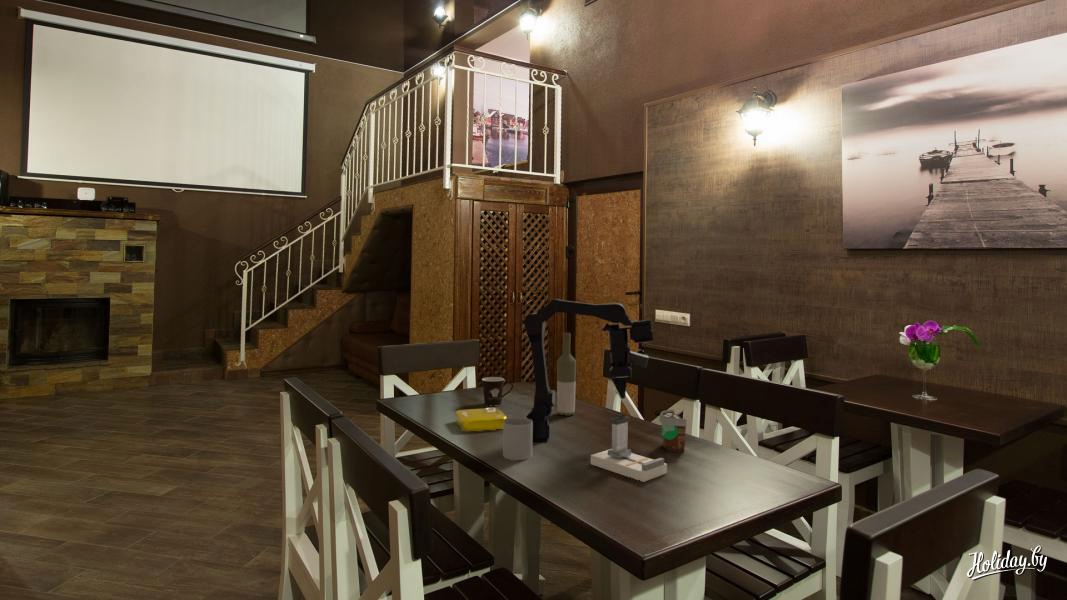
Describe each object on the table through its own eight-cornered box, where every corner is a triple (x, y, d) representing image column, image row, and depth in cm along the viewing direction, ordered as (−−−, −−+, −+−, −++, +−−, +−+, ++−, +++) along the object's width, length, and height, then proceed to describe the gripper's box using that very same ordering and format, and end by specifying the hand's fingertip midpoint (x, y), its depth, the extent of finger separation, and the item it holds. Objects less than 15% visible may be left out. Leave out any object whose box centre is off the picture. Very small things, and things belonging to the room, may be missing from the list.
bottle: (563, 411, 223) (564, 331, 222) (579, 413, 219) (580, 332, 218) (552, 414, 218) (553, 333, 216) (568, 417, 214) (569, 334, 212)
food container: (653, 441, 186) (654, 409, 185) (672, 440, 186) (673, 409, 186) (665, 453, 174) (666, 419, 173) (685, 453, 174) (686, 419, 174)
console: (590, 464, 164) (590, 449, 163) (614, 456, 170) (614, 442, 170) (643, 481, 150) (643, 466, 150) (666, 473, 157) (667, 458, 157)
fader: (607, 455, 162) (607, 418, 161) (620, 451, 166) (621, 414, 165) (618, 459, 159) (619, 421, 158) (631, 454, 163) (632, 417, 162)
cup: (510, 462, 165) (510, 426, 164) (498, 453, 172) (498, 419, 171) (537, 457, 169) (537, 423, 168) (524, 449, 176) (524, 416, 175)
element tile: (455, 422, 208) (455, 408, 208) (496, 419, 212) (496, 406, 212) (463, 434, 194) (463, 419, 193) (508, 430, 198) (508, 416, 198)
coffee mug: (479, 406, 229) (479, 380, 229) (484, 401, 238) (485, 376, 237) (508, 408, 228) (509, 382, 227) (513, 402, 236) (513, 377, 235)
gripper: (646, 346, 171) (651, 400, 171) (645, 338, 189) (649, 387, 190) (607, 349, 173) (612, 402, 173) (609, 341, 191) (614, 389, 192)
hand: (623, 395), depth 182 cm, fingers open, 9 cm apart
